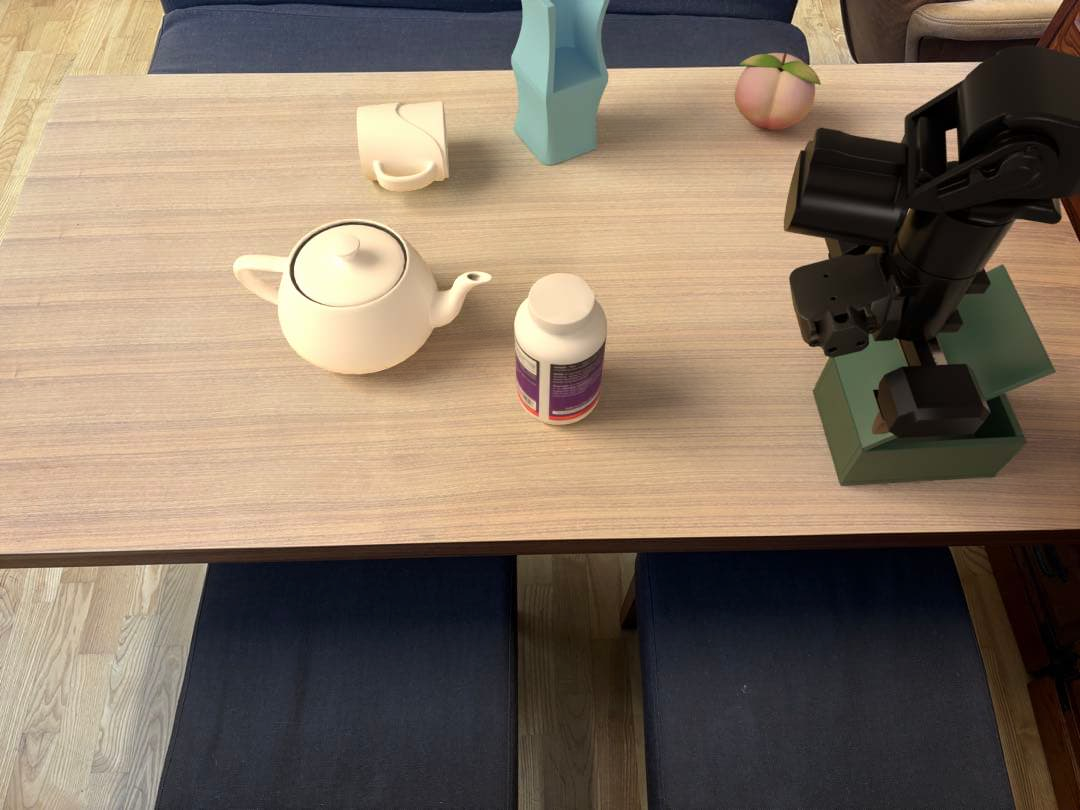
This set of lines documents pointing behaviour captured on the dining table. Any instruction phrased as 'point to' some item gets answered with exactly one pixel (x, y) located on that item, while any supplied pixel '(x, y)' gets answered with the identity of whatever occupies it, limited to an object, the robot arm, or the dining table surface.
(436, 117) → the mug
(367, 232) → the teapot
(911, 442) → the tea tin
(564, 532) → the dining table surface
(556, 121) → the vase
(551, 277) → the pill bottle
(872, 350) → the tin lid
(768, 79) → the decorative fruit
